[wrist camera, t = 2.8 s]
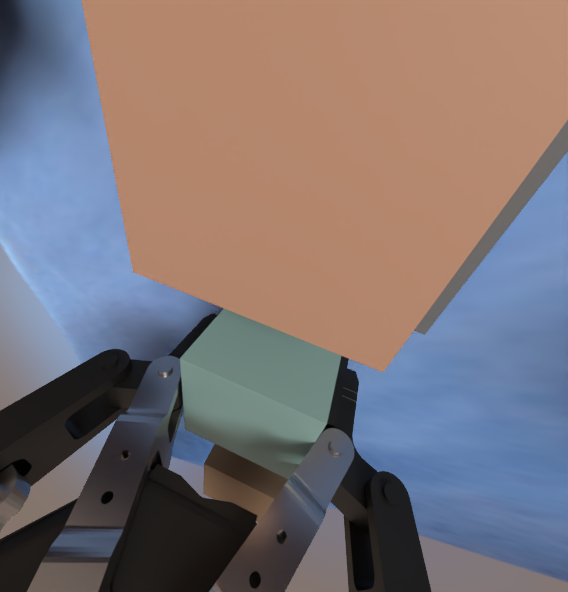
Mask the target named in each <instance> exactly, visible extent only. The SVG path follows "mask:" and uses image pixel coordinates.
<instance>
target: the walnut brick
mask: <svg viewBox="0 0 568 592" xmlns="http://www.w3.org/2000/svg"><path fill="white" fill-rule="evenodd" d="M288 480H289V479H287V478H285V477H282V476H280V475H278V474H276V473H274V472H272V471H270V470H268V469H266V468H264V467H262V466H260V465H258V464H256V463H254V462H252V461H250V460H248V459H246V458H244V457H241V456H239V455H237V454H235V453H233V452H231V451H229V450H227V449H225V448H223V447H221V446H219V445H217V444H215V445H214V447H213V448H212V450H211V452H210V454H209V456H208V458H207V460H206V461H205V463H204V492H203V493H204V494H205V495H207V496H209V497H211V498H213V499H215V500H220V501H227V502H232V503H234V504H236V505H238V506H240V507H242V508H244V509H246V510H248V511H250V512H252V513H254V514H256V515H257V519H256V521H257V522H259V521H260V519H261V518H262V516H263V515H264V514H265V512H266V511H267V509H268V508H269V507H270V505H271V504H272V502H273V501H274V499H275V498H276V497H277V495H278V494H279V492H280V491H281V490H282V488H283V487H284V485H285V484H286V483H287V481H288Z"/></svg>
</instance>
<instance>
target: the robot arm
mask: <svg viewBox="0 0 568 592" xmlns="http://www.w3.org/2000/svg"><path fill="white" fill-rule="evenodd" d="M217 316H218V315H216V314H211V315H209V316H207V317H205V318H203V319H202V320H201V322H200V323H199V324H198V325H197V327H195V328H194V329H193V330H192V332H190V333H189V334H188V335H187V337H186V338H185V339H184V340H183V341H182V342H181V343H180V344H179V345H178V346H177V347H176V348H175V349H174V350H173V352H172V353H171V354H169V355H168V356H162V357H159V358H157V359H155V360H154V361H141V360H132V359H130V357H129V355H128V353H127V352H125V351H123V350H120V349H111V350H107V351H104V352H102V353H100V354H98V355H96V356H95V357H93V358H91V359H89V360H88V361H86V362H84V363H82V364H81V365H79V366H77V367H76V368H74V369H72V370H70V371H69V372H67V373H65V374H63V375H62V376H60V377H58V378H56V379H55V380H53V381H51V382H49V383H48V384H46V385H44V386H42V387H41V388H39V389H37V390H36V391H34V392H32V393H30V394H29V395H27V396H25V397H23V398H22V399H20V400H18V401H16V402H15V403H13V404H11V405H10V406H8V407H6V408H4V409H3V410H1V411H0V531H1V529H2V528H3V526H4V525H5V524H6V523H7V521H8V520H9V519H10V518H11V517H12V516H14V515H15V514H17V513H18V512H19V511H20V510H21V508H22V507H23V504H24V503H25V501H26V500H27V498H28V495H29V493H30V487H31V486H32V485H33V484H34V483H36V482H37V481H38V480H40V479H41V478H42V477H44V476H45V475H46V474H47V473H49V472H50V471H51V470H53V469H54V468H55V467H56V466H58V465H59V464H60V463H61V462H63V461H64V460H65V459H66V458H68V457H69V456H70V455H72V454H73V453H74V452H75V451H77V450H78V449H79V448H81V447H82V446H83V445H84V444H86V443H87V442H88V441H89V440H91V439H92V438H93V437H95V436H96V435H97V434H98V433H100V432H101V431H102V430H103V429H105V428H106V427H107V426H108V425H110V424H111V423H112V422H114V421H115V420H116V419H117V420H116V422H115V424H114V426H113V428H112V430H111V432H110V434H109V436H108V438H107V440H106V442H105V444H104V447H103V448H102V450H101V453H100V455H99V457H98V459H97V461H96V463H95V465H94V467H93V469H92V471H91V473H90V475H89V477H88V479H87V481H86V483H85V485H84V488H83V490H82V492H81V494H80V496H79V498H77V499H75V500H74V501H72V502H70V503H68V504H66V505H64V506H62V507H60V508H59V509H57V510H55V511H53V512H51V513H49V514H47V515H45V516H43V517H42V518H40V519H38V520H36V521H34V522H32V523H30V524H28V525H26V526H24V527H22V528H21V529H19V530H17V531H15V532H13V533H11V534H9V535H7V536H6V537H4V538H2V539H0V592H285V590H286V589H287V587H288V585H289V583H290V581H291V579H292V577H293V576H294V574H295V572H296V570H297V568H298V566H299V564H300V563H301V561H302V559H303V557H304V555H305V553H306V551H307V549H308V548H309V546H310V544H311V542H312V540H313V538H314V536H315V535H316V533H317V531H318V529H319V527H320V525H321V523H322V521H323V519H324V517H325V512H326V509H327V507H328V505H329V503H330V501H331V502H332V503H333V504H334V505H335V506H336V507H337V508H338V509H339V510H340V511H341V512H342V513H343V514H344V525H345V540H346V555H347V570H348V585H349V592H431V588H430V584H429V580H428V575H427V571H426V567H425V562H424V558H423V554H422V549H421V545H420V541H419V536H418V532H417V528H416V524H415V519H414V515H413V511H412V506H411V502H410V498H409V495H408V492H407V490H406V488H405V486H404V485H403V483H402V482H401V481H400V480H399V479H398V478H397V477H396V476H395V475H393V474H391V473H389V472H385V471H382V472H377V471H376V470H375V469H374V468H372V467H371V466H370V465H369V464H368V463H367V462H366V461H364V460H363V459H362V458H361V456H360V455H359V454H358V452H357V451H356V449H355V446H354V444H353V439H352V432H353V424H354V416H355V409H356V401H357V393H358V385H359V381H358V378H357V375H356V372H355V371H352V370H350V369H347V365H348V359H349V358H346V357H344V356H341V360H340V365H339V369H338V374H337V379H336V384H335V388H334V393H333V398H332V402H331V407H330V412H329V417H328V421H327V425H326V426H325V428H324V429H323V431H322V432H321V434H320V436H319V437H318V439H317V440H316V442H315V443H314V445H313V446H312V448H311V449H310V451H309V452H308V454H307V455H306V456H305V458H304V459H303V461H302V462H301V463H300V465H299V466H298V468H297V469H296V471H295V472H294V473H293V475H292V476H291V477H290V478H289V480H288V481H287V483H286V484H285V485H284V487H283V488H282V490H281V491H280V492H279V494H278V495H277V497H276V498H275V499H274V501H273V502H272V504H271V505H270V507H269V508H268V509H267V511H266V512H265V514H264V515H263V516H262V518H261V519H260V521H259V522H258V523H256V519H257V515H256V514H254V513H252V512H250V511H248V510H246V509H244V508H242V507H240V506H238V505H236V504H234V503H232V502H227V501H220V500H214V499H206V498H202V497H201V496H199V494H198V493H196V491H195V490H194V489H193V488H192V487H191V486H190V485H189V484H188V483H187V482H186V481H185V480H184V479H183V478H182V476H180V475H178V474H176V473H174V472H172V471H170V470H168V468H169V465H170V460H171V454H172V447H173V443H174V440H175V436H176V433H177V429H178V426H179V423H180V419H181V416H182V412H183V409H184V408H183V394H182V380H181V366H180V358H181V357H182V356H183V354H184V353H185V352H186V351H187V350H188V349H189V348H190V346H191V345H192V344H193V343H194V342H195V341H196V340H197V338H198V337H199V336H200V335H201V334H202V333H203V332H204V330H205V329H206V328H207V327H208V326H209V325H210V324H211V323H212V321H213V320H214V319H215V318H216V317H217ZM126 411H127V412H126ZM125 412H126V413H125Z"/></svg>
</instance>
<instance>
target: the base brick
mask: <svg viewBox="0 0 568 592" xmlns="http://www.w3.org/2000/svg"><path fill="white" fill-rule="evenodd" d="M82 5H83V10H84V15H85V20H86V26H87V31H88V36H89V42H90V47H91V52H92V57H93V63H94V68H95V73H96V78H97V84H98V89H99V94H100V100H101V105H102V110H103V115H104V121H105V126H106V131H107V136H108V142H109V147H110V152H111V158H112V163H113V168H114V173H115V179H116V184H117V189H118V194H119V200H120V205H121V210H122V216H123V221H124V226H125V231H126V237H127V242H128V247H129V252H130V258H131V263H132V268H133V272H134V273H137V274H139V275H142V276H144V277H147V278H149V279H152V280H154V281H157V282H159V283H162V284H164V285H167V286H169V287H172V288H174V289H177V290H179V291H182V292H184V293H187V294H189V295H192V296H194V297H197V298H199V299H202V300H204V301H207V302H209V303H212V304H214V305H217V306H219V307H222V308H224V309H227V310H229V311H232V312H234V313H237V314H239V315H242V316H244V317H247V318H249V319H252V320H254V321H256V322H259V323H261V324H264V325H266V326H269V327H271V328H274V329H276V330H279V331H281V332H284V333H286V334H289V335H291V336H294V337H296V338H299V339H301V340H304V341H306V342H309V343H311V344H314V345H316V346H319V347H321V348H324V349H326V350H329V351H331V352H334V353H336V354H339V355H341V356H344V357H346V358H349V359H351V360H354V361H356V362H359V363H361V364H364V365H366V366H369V367H371V368H374V369H376V370H379V371H381V372H384V371H385V369H386V368H387V366H388V365H389V364H390V362H391V361H392V360H393V358H394V357H395V355H396V354H397V353H398V351H399V350H400V349H401V347H402V346H403V345H404V343H405V342H406V340H407V339H408V338H409V336H410V335H411V334H412V332H413V331H414V329H415V328H416V327H417V325H418V324H419V323H420V321H421V320H422V319H423V317H424V316H425V314H426V313H427V312H428V310H429V309H430V308H431V306H432V305H433V303H434V302H435V301H436V299H437V298H438V297H439V295H440V294H441V293H442V291H443V290H444V288H445V287H446V286H447V284H448V283H449V282H450V280H451V279H452V278H453V276H454V275H455V273H456V272H457V271H458V269H459V268H460V267H461V265H462V264H463V262H464V261H465V260H466V258H467V257H468V256H469V254H470V253H471V252H472V250H473V249H474V247H475V246H476V245H477V243H478V242H479V241H480V239H481V238H482V236H483V235H484V234H485V232H486V231H487V230H488V228H489V227H490V226H491V224H492V223H493V221H494V220H495V219H496V217H497V216H498V215H499V213H500V212H501V210H502V209H503V208H504V206H505V205H506V204H507V202H508V201H509V200H510V198H511V197H512V195H513V194H514V193H515V191H516V190H517V189H518V187H519V186H520V185H521V183H522V182H523V180H524V179H525V178H526V176H527V175H528V174H529V172H530V171H531V169H532V168H533V167H534V165H535V164H536V163H537V161H538V160H539V159H540V157H541V156H542V154H543V153H544V152H545V150H546V149H547V148H548V146H549V145H550V143H551V142H552V141H553V139H554V138H555V137H556V135H557V134H558V133H559V131H560V130H561V128H562V127H563V126H564V124H565V123H566V122H567V120H568V0H82Z"/></svg>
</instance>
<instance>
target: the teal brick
mask: <svg viewBox="0 0 568 592" xmlns="http://www.w3.org/2000/svg"><path fill="white" fill-rule="evenodd" d="M340 360H341V355H339V354H336V353H334V352H331V351H329V350H326V349H324V348H321V347H319V346H316V345H314V344H311V343H309V342H306V341H304V340H301V339H299V338H296V337H294V336H291V335H289V334H286V333H284V332H281V331H279V330H276V329H274V328H271V327H269V326H266V325H264V324H261V323H259V322H256V321H254V320H252V319H249V318H247V317H244V316H242V315H239V314H237V313H234V312H232V311H229V310H227V309H223V310H222V311H221V312H220V313H219V315H218V316H217V317H216V318H215V319H214V320H213V321H212V323H211V324H210V325H209V326H208V327H207V328H206V329H205V330H204V332H203V333H202V334H201V335H200V336H199V337H198V338H197V340H196V341H195V342H194V343H193V344H192V345H191V346H190V348H189V349H188V350H187V351H186V352H185V353H184V354H183V356H182V357H181V358H180V366H181V380H182V394H183V408H184V422H185V429H186V430H188V431H190V432H192V433H194V434H196V435H198V436H200V437H203V438H205V439H207V440H209V441H211V442H213V443H215V444H217V445H219V446H221V447H223V448H225V449H227V450H229V451H231V452H233V453H235V454H237V455H239V456H241V457H244V458H246V459H248V460H250V461H252V462H254V463H256V464H258V465H260V466H262V467H264V468H266V469H268V470H270V471H272V472H274V473H276V474H278V475H280V476H282V477H285V478H287V479H289V478H290V477H291V476H292V475H293V473H294V472H295V471H296V469H297V468H298V466H299V465H300V463H301V462H302V461H303V459H304V458H305V456H306V455H307V454H308V452H309V451H310V449H311V448H312V446H313V445H314V443H315V442H316V440H317V439H318V437H319V436H320V434H321V432H322V431H323V429H324V428H325V426H326V425H327V421H328V417H329V412H330V407H331V402H332V398H333V393H334V388H335V384H336V379H337V374H338V369H339V365H340Z"/></svg>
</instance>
